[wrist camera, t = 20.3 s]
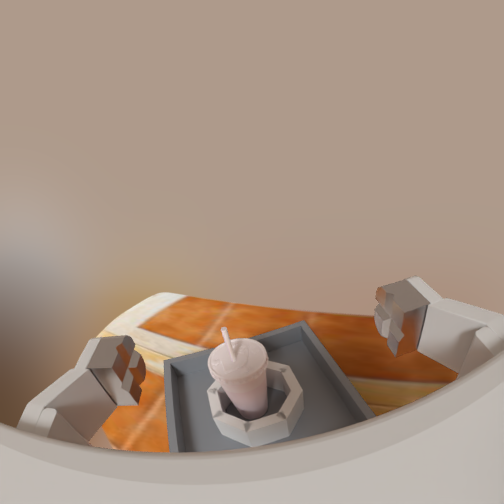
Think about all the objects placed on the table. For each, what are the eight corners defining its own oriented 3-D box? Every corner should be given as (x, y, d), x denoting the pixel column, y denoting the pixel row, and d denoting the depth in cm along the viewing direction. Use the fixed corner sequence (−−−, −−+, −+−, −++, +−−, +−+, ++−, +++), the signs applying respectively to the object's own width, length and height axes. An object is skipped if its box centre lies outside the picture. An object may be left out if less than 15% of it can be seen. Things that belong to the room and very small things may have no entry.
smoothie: (219, 418, 30) (181, 339, 25) (243, 384, 35) (217, 302, 30) (265, 434, 27) (239, 354, 22) (286, 395, 32) (271, 310, 27)
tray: (305, 339, 43) (303, 314, 41) (378, 444, 23) (387, 423, 21) (172, 377, 39) (160, 354, 37) (190, 506, 19) (171, 494, 17)
